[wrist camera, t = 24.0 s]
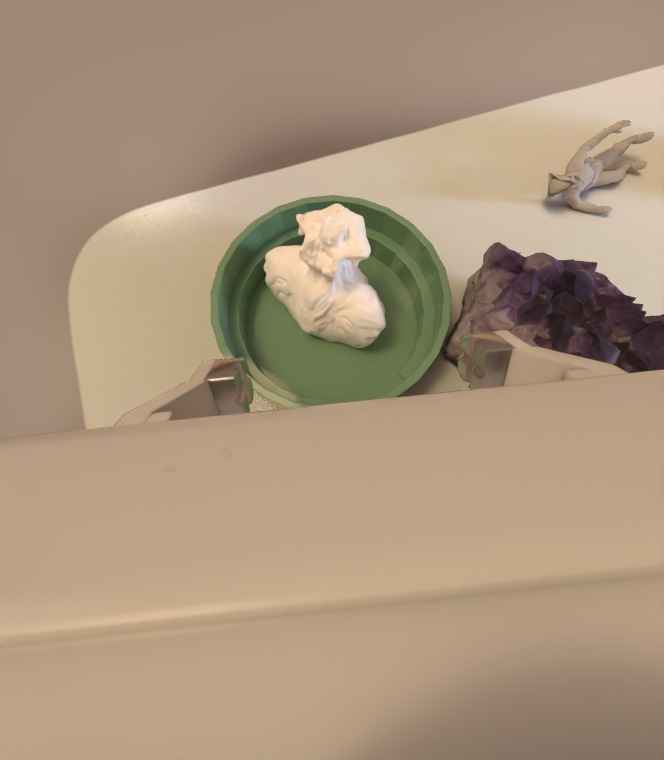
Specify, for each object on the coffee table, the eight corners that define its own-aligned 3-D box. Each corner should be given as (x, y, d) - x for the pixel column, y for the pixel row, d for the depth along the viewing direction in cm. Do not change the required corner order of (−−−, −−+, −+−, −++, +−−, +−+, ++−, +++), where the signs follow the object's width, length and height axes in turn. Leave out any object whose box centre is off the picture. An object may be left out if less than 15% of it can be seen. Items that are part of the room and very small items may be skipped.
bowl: (412, 230, 32) (427, 185, 27) (447, 410, 28) (474, 399, 22) (230, 248, 32) (209, 206, 27) (235, 432, 27) (211, 427, 22)
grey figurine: (639, 198, 34) (596, 226, 29) (586, 205, 38) (539, 231, 32) (660, 109, 30) (614, 123, 25) (598, 126, 34) (547, 141, 29)
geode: (669, 375, 28) (841, 354, 18) (597, 475, 28) (733, 510, 18) (483, 252, 31) (546, 175, 21) (414, 342, 30) (444, 308, 20)
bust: (378, 348, 31) (441, 238, 23) (347, 386, 25) (417, 257, 18) (282, 288, 33) (314, 169, 25) (233, 311, 27) (255, 166, 20)
